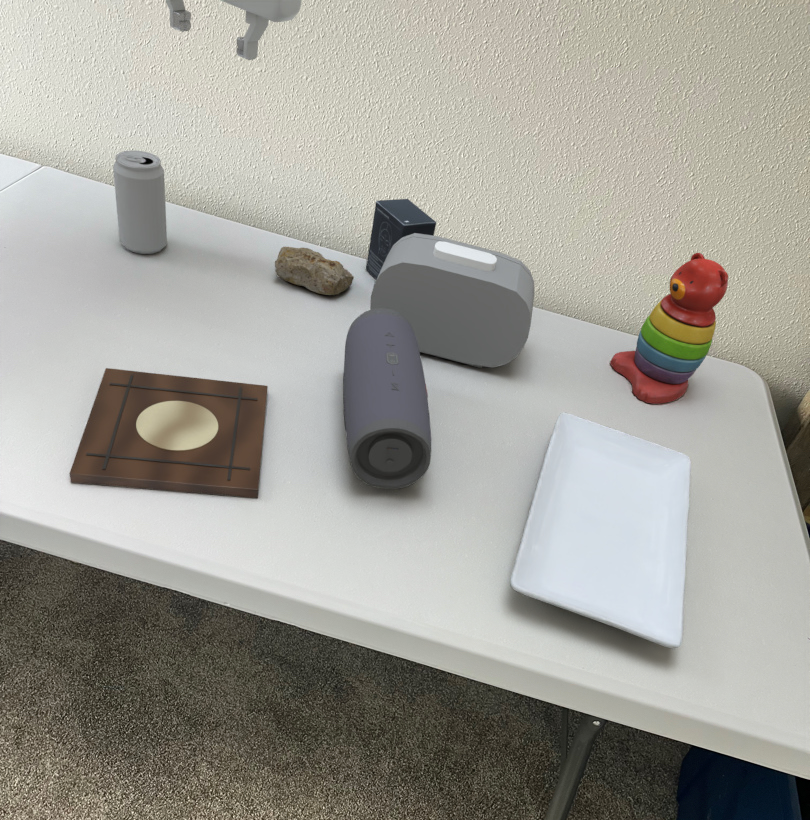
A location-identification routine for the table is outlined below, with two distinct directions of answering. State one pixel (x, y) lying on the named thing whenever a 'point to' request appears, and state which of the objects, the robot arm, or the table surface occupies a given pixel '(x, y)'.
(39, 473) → the table surface
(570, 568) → the tray
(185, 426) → the board
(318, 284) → the rock
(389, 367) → the bluetooth speaker
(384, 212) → the box
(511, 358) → the grey rounded block
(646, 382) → the stacking bear
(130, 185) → the beverage can
